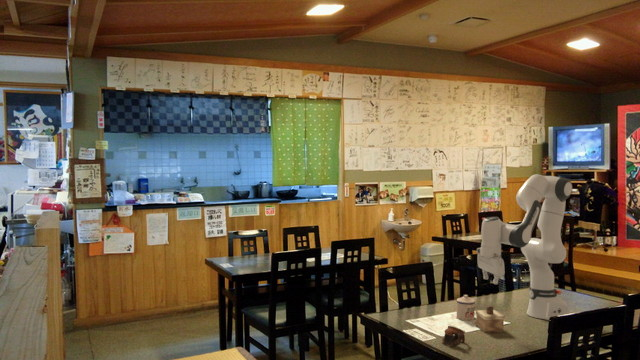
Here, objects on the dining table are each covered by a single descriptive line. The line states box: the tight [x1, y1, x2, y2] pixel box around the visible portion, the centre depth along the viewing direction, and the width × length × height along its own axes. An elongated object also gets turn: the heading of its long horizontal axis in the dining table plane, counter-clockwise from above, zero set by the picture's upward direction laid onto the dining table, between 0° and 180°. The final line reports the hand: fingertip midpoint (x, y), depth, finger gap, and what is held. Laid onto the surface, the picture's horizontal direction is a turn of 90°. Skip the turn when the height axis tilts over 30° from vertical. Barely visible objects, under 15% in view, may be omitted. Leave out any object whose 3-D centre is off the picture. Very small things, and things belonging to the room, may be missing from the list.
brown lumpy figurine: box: [441, 325, 466, 347], centre depth 214 cm, size 12×10×8 cm
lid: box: [475, 305, 506, 320], centre depth 234 cm, size 10×10×5 cm
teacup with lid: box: [456, 294, 477, 322], centre depth 252 cm, size 12×9×12 cm
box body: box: [475, 314, 505, 334], centre depth 234 cm, size 9×9×6 cm
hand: (490, 281), depth 234 cm, fingers open, 8 cm apart
